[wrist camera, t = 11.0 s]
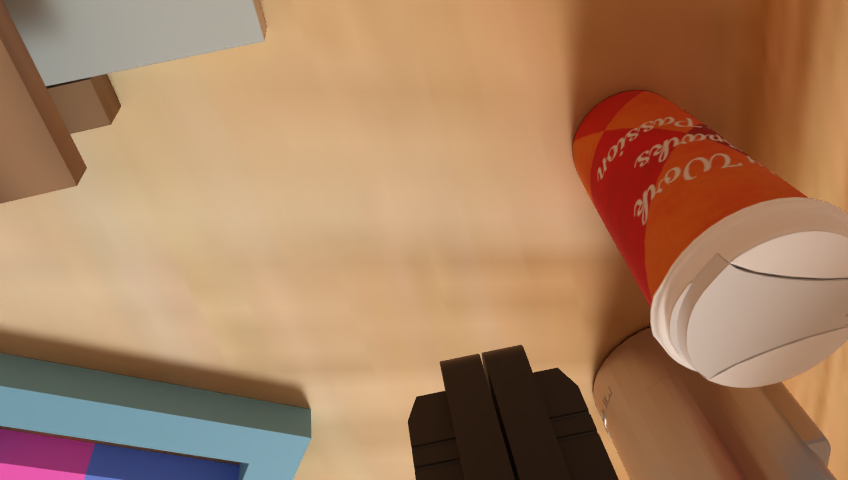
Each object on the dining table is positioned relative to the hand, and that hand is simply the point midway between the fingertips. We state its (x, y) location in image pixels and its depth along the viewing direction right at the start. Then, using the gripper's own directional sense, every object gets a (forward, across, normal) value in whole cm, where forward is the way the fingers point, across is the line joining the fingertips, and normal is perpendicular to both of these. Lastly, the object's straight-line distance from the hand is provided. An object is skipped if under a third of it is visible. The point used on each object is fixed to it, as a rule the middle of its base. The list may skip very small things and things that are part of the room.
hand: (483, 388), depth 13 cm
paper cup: (+22, -11, +8) cm, 26 cm away
